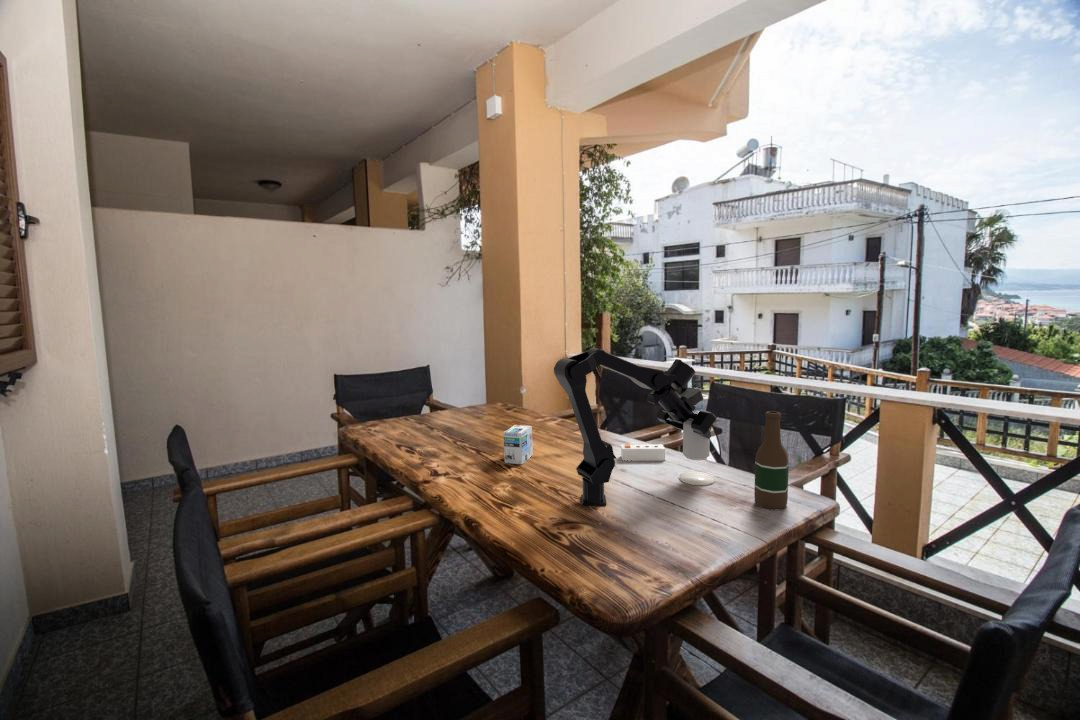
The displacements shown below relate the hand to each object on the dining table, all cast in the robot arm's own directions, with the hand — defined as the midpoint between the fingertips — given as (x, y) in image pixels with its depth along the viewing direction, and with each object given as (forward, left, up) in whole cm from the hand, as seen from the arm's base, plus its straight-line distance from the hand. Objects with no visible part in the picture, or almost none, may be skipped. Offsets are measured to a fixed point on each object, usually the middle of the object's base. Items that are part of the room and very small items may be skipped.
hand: (699, 434), depth 142 cm
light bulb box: (+19, +56, -13) cm, 61 cm away
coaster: (-1, +1, -13) cm, 13 cm away
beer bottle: (-19, -13, -13) cm, 27 cm away
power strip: (+19, +14, -13) cm, 27 cm away
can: (-1, +1, -7) cm, 7 cm away
